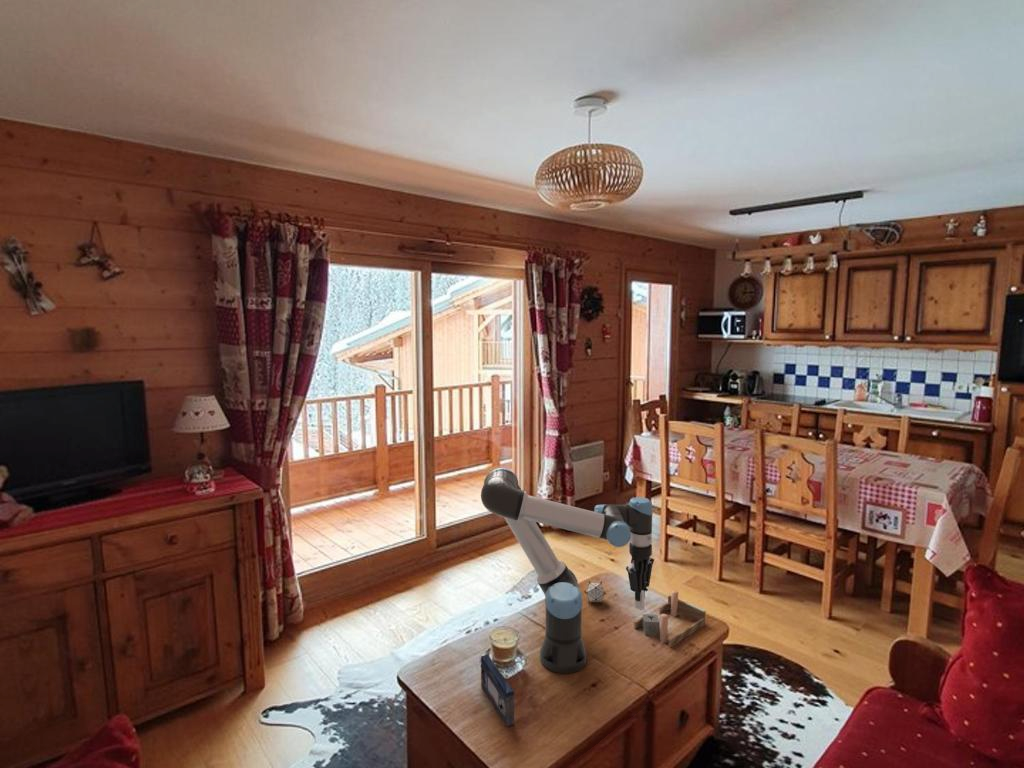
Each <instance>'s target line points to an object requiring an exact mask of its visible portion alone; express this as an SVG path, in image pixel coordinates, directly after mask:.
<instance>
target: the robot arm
mask: <svg viewBox="0 0 1024 768" xmlns="http://www.w3.org/2000/svg"><path fill="white" fill-rule="evenodd" d="M480 499H481V503H482V505H483V507H484V508H485V509H486V510H487V511H488V512H490V513H491V514H494V515H496V516H498V517H502V518H504V520H505V522H506V524H507V525H508V527H509V529H510V530H511V532H512V533H513V536H514V537H515V538H516V540H517V542H518V544H519V546H520V547H521V548H522V549H521V550H522V551H523V553H524V554H525V556H526V557H527V559H528V560H529V562H530V564H531V565H532V567H533V569H534V571H535V572H536V573H537V576H536V582H537V584H538V586H539V587H540V589H541V591H542V593H543V594H544V597H545V598H544V601H545V602H544V603H545V635H544V638H543V641H542V643H541V647H540V651H539V659H540V663H541V664H542V665H543V667H544V668H546V669H547V670H549V671H551V672H554V673H557V674H572V673H576V672H579V671H581V670H583V669H584V667H586V664H587V651H586V650H587V649H586V648H585V645H584V641H583V638H582V620H583V619H582V617H583V616H582V613H583V612H582V610H583V597H582V595H583V594H582V592H581V590H580V589H579V581H578V579H577V577H576V575H575V573H574V572H573V571H572V570H571V569H570V568H568V566H567V564H566V563H565V562H564V561H561V560H559V559H558V557H557V556H556V555H555V553H554V552H555V551H553V549H552V548H551V546H550V544H549V541H547V539H546V538H545V536H544V534H543V532H542V531H541V529H540V527H539V525H538V524H537V523H539V524H542V525H547V526H551V527H555V528H559V529H563V530H566V531H571V532H575V533H579V534H583V535H587V536H591V537H595V538H598V539H601V540H605V541H608V542H609V544H610V545H612V546H613V547H616V548H622V547H624V546H627V544H628V545H629V546H628V547H629V548H628V549H629V550H628V551H629V554H630V556H631V559H630V565H629V566H626V567H625V570H626V572H627V576H628V581H629V588H630V589H629V590H630V591H632V592H634V601H635V603H634V606H635V607H634V608H635V609H637V610H639V611H641V612H642V611H643V610H645V599H646V596H645V595H646V592H648V588H649V587H650V582H651V578H652V569H653V564H654V562H655V558H652V557H651V556H652V554H653V544H652V543H653V535H652V534H653V515H654V514H653V503H652V501H651V500H650V499H649V498H647V497H640V496H636V497H631V499H630V500H629V502H628V504H627V503H626V504H606V503H605V504H604V503H603V504H597V505H595V506H594V509H593V510H588V509H584V508H581V507H576V506H572V505H568V504H565V503H561V502H557V501H553V500H549V499H544V498H541V497H538V496H537V497H536V496H533V495H529V494H528V493H527V492H526V490H523V489H522V488H521V486H520V484H519V480H518V477H517V475H516V474H515V472H513V471H512V470H511V469H509V468H505V467H499V468H495V469H493V470H491V471H490V472H489V473H488V474H487V475H486V477H485V478H484V481H483V485H482V488H481V492H480Z"/></svg>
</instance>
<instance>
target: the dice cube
mask: <svg viewBox="0 0 1024 768" xmlns="http://www.w3.org/2000/svg"><path fill="white" fill-rule="evenodd" d="M642 617H643V624H642V630H643V633H644V635H645V636H660V625H661V621H660V619H659V617H658V614H649V613H642Z"/></svg>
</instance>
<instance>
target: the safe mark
mask: <svg viewBox="0 0 1024 768" xmlns="http://www.w3.org/2000/svg"><path fill="white" fill-rule="evenodd" d="M686 605H689V606H691V607H693V608H695V609H698V610H700V611H702V612H705V611H706V610H705V609H703V608H700V607H699V606H696V605H694V604H692V603H690V602H688V601H687V602H686Z"/></svg>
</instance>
